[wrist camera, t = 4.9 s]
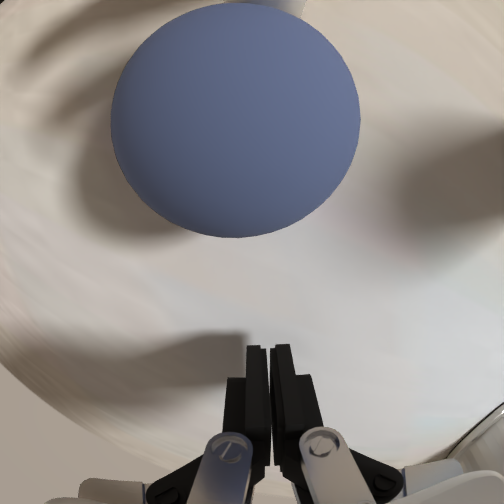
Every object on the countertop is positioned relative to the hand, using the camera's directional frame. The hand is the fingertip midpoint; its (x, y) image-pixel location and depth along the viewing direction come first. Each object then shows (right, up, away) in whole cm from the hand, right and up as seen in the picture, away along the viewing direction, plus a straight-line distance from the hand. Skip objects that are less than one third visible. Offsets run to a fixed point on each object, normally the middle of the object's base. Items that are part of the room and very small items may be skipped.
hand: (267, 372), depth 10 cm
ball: (-1, +8, -4) cm, 9 cm away
